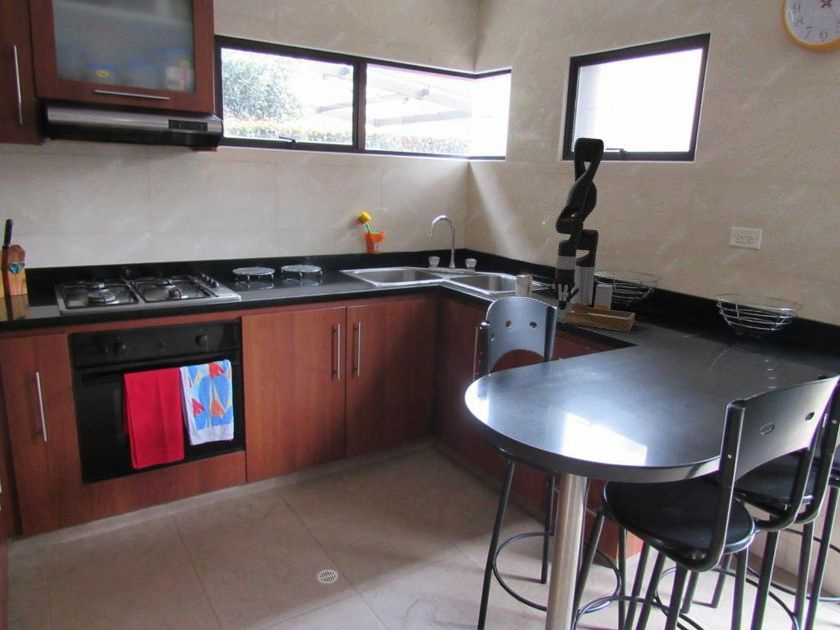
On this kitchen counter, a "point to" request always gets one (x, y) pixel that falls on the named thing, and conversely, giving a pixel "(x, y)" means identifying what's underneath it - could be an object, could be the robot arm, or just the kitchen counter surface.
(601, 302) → the skincare box
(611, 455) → the kitchen counter surface
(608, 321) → the trap tray
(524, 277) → the blue flashlight
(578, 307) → the block
